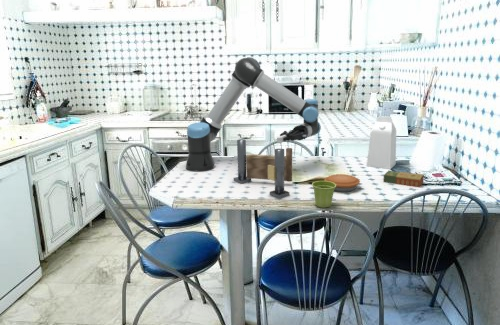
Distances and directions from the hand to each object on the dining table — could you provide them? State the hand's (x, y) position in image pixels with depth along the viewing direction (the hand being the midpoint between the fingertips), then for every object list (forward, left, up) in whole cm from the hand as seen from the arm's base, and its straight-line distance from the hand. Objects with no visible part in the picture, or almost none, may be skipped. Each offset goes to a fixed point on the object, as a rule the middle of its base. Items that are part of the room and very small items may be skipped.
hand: (278, 140), depth 192 cm
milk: (+51, +30, -19) cm, 63 cm away
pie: (+29, -10, -19) cm, 37 cm away
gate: (-3, -8, -17) cm, 19 cm away
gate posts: (-7, -15, -19) cm, 25 cm away
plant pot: (+21, -33, -19) cm, 44 cm away
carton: (+57, +1, -19) cm, 61 cm away
